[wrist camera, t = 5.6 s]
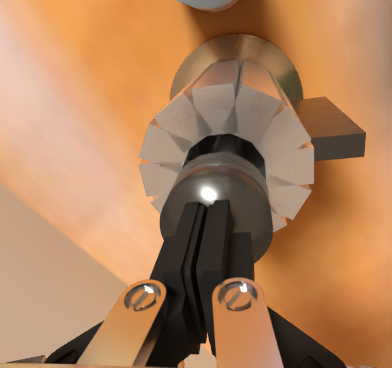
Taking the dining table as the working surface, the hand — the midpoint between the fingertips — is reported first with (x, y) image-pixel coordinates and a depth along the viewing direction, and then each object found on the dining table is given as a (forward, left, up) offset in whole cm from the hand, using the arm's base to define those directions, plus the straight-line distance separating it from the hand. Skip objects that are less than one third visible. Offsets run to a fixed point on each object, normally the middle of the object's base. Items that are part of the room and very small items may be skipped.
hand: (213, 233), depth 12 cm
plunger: (0, 0, -19) cm, 19 cm away
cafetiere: (0, 0, -22) cm, 22 cm away
